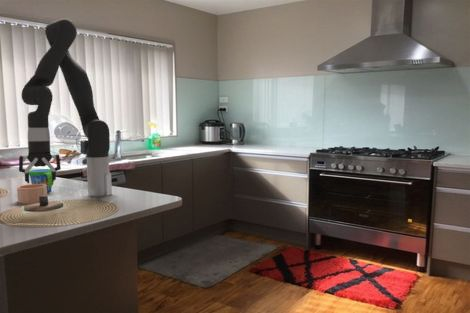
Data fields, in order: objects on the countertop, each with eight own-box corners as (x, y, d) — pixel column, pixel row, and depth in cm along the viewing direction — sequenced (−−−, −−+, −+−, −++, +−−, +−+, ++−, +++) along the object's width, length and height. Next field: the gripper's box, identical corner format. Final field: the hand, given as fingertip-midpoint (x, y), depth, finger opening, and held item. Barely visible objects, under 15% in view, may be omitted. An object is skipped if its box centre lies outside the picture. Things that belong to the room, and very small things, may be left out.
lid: (69, 203, 165) (68, 192, 165) (52, 211, 152) (52, 199, 152) (36, 203, 166) (35, 192, 166) (16, 211, 153) (15, 200, 152)
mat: (67, 210, 156) (67, 208, 156) (23, 215, 149) (23, 213, 149) (62, 202, 169) (62, 201, 169) (21, 207, 162) (21, 205, 162)
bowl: (52, 199, 177) (51, 183, 176) (39, 204, 166) (38, 188, 165) (27, 199, 177) (26, 183, 177) (12, 204, 166) (11, 188, 166)
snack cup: (24, 191, 194) (22, 169, 193) (46, 188, 202) (45, 167, 201) (37, 195, 184) (36, 173, 183) (61, 192, 191) (59, 170, 190)
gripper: (58, 138, 163) (60, 179, 165) (18, 139, 157) (20, 182, 158) (60, 139, 156) (61, 182, 158) (17, 140, 150) (19, 185, 152)
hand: (40, 182), depth 158 cm, fingers open, 8 cm apart
